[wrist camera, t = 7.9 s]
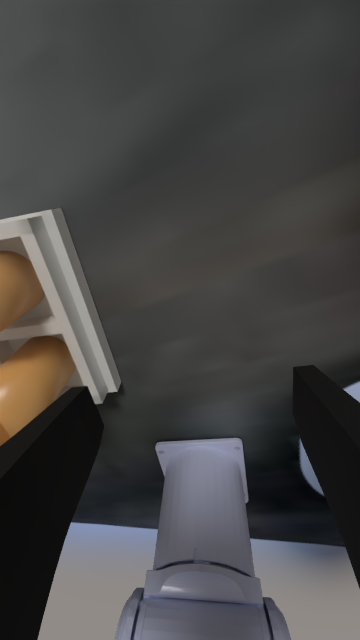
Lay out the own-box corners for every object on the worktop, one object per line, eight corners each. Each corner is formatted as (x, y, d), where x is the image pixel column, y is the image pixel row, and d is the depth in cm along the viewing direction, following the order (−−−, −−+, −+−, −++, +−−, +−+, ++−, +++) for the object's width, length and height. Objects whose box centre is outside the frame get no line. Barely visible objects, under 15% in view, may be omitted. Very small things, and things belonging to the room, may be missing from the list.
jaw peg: (84, 376, 21) (29, 466, 14) (37, 380, 21) (-36, 469, 15) (57, 314, 18) (-23, 389, 12) (5, 321, 19) (-98, 395, 12)
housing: (121, 381, 22) (88, 461, 16) (30, 390, 23) (-34, 467, 17) (60, 207, 16) (-31, 224, 10) (-57, 231, 18) (-205, 259, 11)
